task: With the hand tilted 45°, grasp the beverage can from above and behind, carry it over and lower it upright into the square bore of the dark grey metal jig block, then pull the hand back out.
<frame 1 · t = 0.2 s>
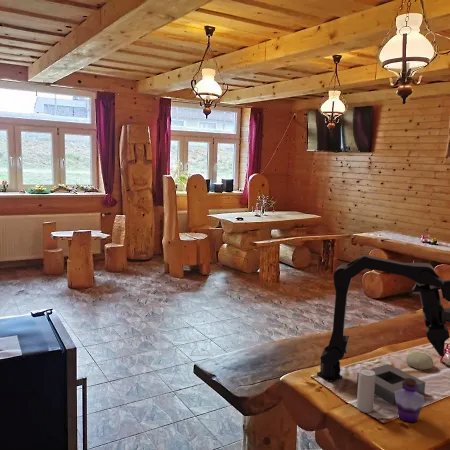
hand: (440, 350, 142), 16 cm above the table, tool pointing down, fingers open, 9 cm apart
beverage can: (364, 409, 136), on the table
jig block: (390, 388, 148), on the table
potion bottle: (407, 418, 131), on the table
sea urchin shell: (419, 366, 166), on the table
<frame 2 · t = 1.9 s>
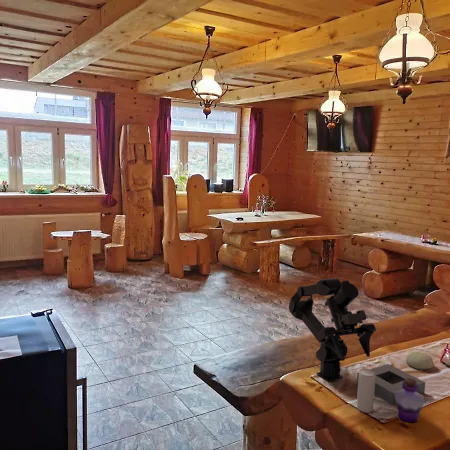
hand: (356, 358, 140), 13 cm above the table, tool tilted 45°, fingers open, 9 cm apart
nothing on the table moved.
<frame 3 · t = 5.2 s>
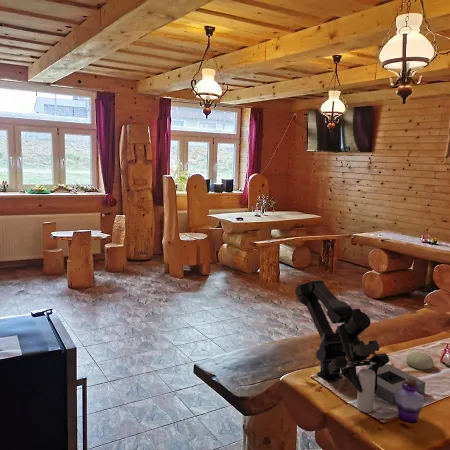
hand: (368, 391, 133), 7 cm above the table, tool tilted 45°, fingers closed on beverage can, 5 cm apart
beverage can: (364, 409, 136), on the table, touching gripper
everything else where it was.
when the fingers open (8 cm above the table, at t = 9.9 s): beverage can drops 1 cm, resting in jig block.
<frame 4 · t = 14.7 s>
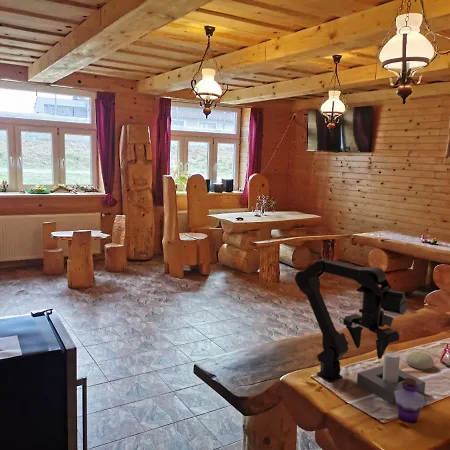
hand: (368, 353, 145), 13 cm above the table, tool pointing down, fingers open, 9 cm apart
beverage can: (389, 389, 148), resting in jig block
everything else where it was.
at the end: beverage can 0.1 cm off-centre on the jig block, point 0.0 cm above the jig block's base; beverage can tilted 0°; the gripper is holding nothing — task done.
